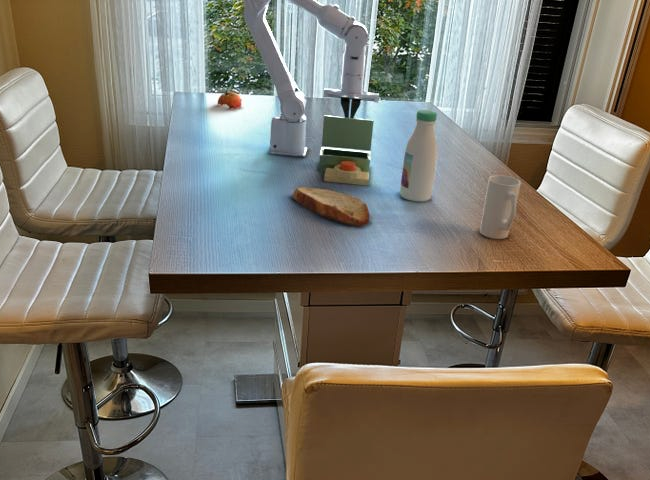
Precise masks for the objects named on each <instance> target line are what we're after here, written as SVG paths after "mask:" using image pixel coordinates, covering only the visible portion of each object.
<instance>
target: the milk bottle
mask: <svg viewBox="0 0 650 480" xmlns="http://www.w3.org/2000/svg"><path fill="white" fill-rule="evenodd" d="M415 117H416V119H415V122H416V124H415V127H414V129H413V131H412V133H411V135H410V136H409V138H408V140H407V142H406V146H405V151H404V157H403V164H402V170H401V171H402V173H401V179H400V187H399V195H400V197H402V198H403V199H405V200H407V201H412V202H426V201H429V200H430V199H431V198H432V196H433V195H432V194H433V188H434V183H435V176H436V168H437V163H438V155H439V154H438V153H439V145H438V140H437V136H436V131H435V125H436V123H437V119H438V118H437V117H438V113H437V112H436V111H433V110H430V109H429V110H428V109H419V110H417V112H416V116H415Z"/></svg>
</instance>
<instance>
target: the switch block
mask: <svg viewBox="0 0 650 480" xmlns="http://www.w3.org/2000/svg"><path fill="white" fill-rule="evenodd" d="M340 168H341V165H337V166H335V168H334V169H332V168H326V171H324V172H325V173H324V179H323V182H329V183H330V182H331V183H340V184H341V183H342V184H351V185H361V186H369V184H370V183H369V182H370V171H369V172H362V171H361V169H360V168H359V167H357V166H355V171H344V170H341V169H340Z"/></svg>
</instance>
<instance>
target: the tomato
mask: <svg viewBox="0 0 650 480" xmlns="http://www.w3.org/2000/svg"><path fill="white" fill-rule="evenodd" d="M219 105H220V106H224V105H225V106H227V107H228V110H232V109H233V110H235V109H241V108H242V105H243V104H242V98H241V97H240V95H239V94H238V93H236V92H234V91H229V90H225V91H224V93H222V94H220V95H219V97H218V99H217V106H219Z"/></svg>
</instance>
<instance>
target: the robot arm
mask: <svg viewBox="0 0 650 480" xmlns="http://www.w3.org/2000/svg"><path fill="white" fill-rule="evenodd" d="M271 1H272V0H244V8H243V19H244V22H245V24H246V27H247V28H248V30H249V33H250V35H251V38H252V39H253V42H254V43H255V45H256V48H257V50H258V52H259V54H260V57H261V59H262V62H263V63H264V65H265V68H266V70H267V72H268V74H269V76H270V78H271V81H272V83H273V85H274V88H275V91H276V95H277V99H278V101H279V110H280V114H279V116H273V117H271V122H270V139H269V145H270V146H269V154H271V155H281V156H282V155H283V156H289V157H291V156H292V157H301V158H305V157H306V154H307V151H308V147H306V136H307V135H306V133H307V116H306V115H305V108H306V106H307V97H306V95H305V94H304V93H303V92H302V91H301V90H300V89H299V88H298V85H297V84H296V82H295V80H294V79H293V78H292V76H291V74H290V71H289V69H288V66H287V64H286V62H285V60H284V57H283V55H282V53H281V51H280V49H279V46H278V44H277V42H276V40H275V37H274V35H273V32H272V31H271V28H270V26H269V24H268V22H267V19H266V13H267V11H268V8H269V5H270V3H271ZM287 1H288V2H289V3H292V4H293V5H295V6H296V7H298V8H300V9H301V10H304V11H305V12H307V13H308V14H310V15H311V16H313V17H315V18H316V22H317V26H319V27H320V28H322V29H323V30H324V31H326V32H328V33H329V34H331V35H333V36H334V37H335V38H337V39H338V40H344V43H345V45H344V53H343V55H342V69H341V70H342V71H341V81H340V88H328V87H324V88H323V92H322V93H323V94H322V96H323V98H331V99H332V98H334V99H340V102H339V103H340V106H341V108H342V112H343V115H344V116H343V117H345V118H355V116H356V114H357V111H358V109H359V108H360V106H361V103H362V101H363V102H373V103H377V104H378V103H379V101H380V99H379V98H380V93H377V92H370V91H366V90H365V91H364V90H363V89H364V77H365V70H366V69H365V68H366V67H365V65H366V59H367V57H366V53H367V47H366V45H367V44H368V42H369V37H368V36H369V35H368V30H367V27H366V26H365V25H364V24H363V23H362V22H361V20H360V21H359V20H356V17H355V16H350V15H348V14H347V13H345V12H344V11H342V10H341V9H340V6H339V5H338V4H337V3H334V5H333V4H331V3H326V4H321V3H320V2H319V1H317V0H287Z"/></svg>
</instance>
